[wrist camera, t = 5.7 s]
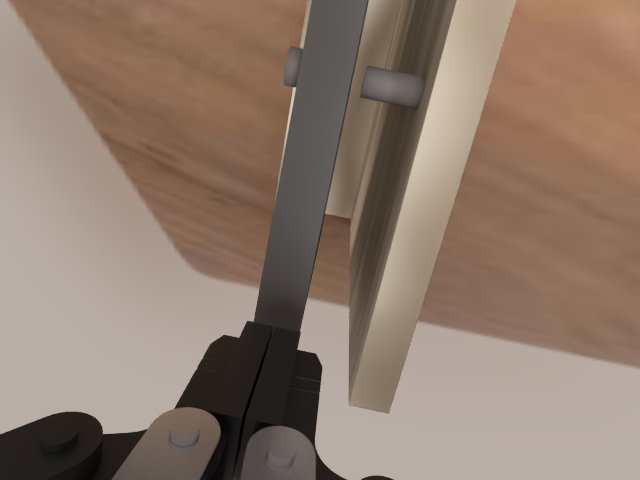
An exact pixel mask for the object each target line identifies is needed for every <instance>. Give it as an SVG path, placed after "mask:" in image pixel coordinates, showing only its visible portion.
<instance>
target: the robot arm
mask: <svg viewBox="0 0 640 480" xmlns="http://www.w3.org/2000/svg"><path fill="white" fill-rule="evenodd" d="M300 333H301V332H300V331H295V330H290V329H286V328H281V327H276V326H275V329H274V332H273V326H271V325H266V324H261V323H256V322H251V321H247V323H246V325H245V327H244V329H243V331H242V333H241V336H240V338H237V337H232V336H227V335H223V336H222V337H220V338H219V339H217V340H216V341H214V342H213V343H211V344H210V346H209V348H208V349H207V351H206V353H205V355H204V357H203V359H202V360H201V362H200V364H199V365H198V368H197V370H196V371H195V373H194V374H193V376H192V378H191V380H190V382H189V383H188V385H187V387H186V389H185V391H184V392H183V394H182V396H181V398H180V399H179V401H178V403H177V405H176V407H175V408H174V409H173V410H170V411H168V412H165V413H163V414H162V415H160V416H159V417H158V418H156V419H155V420H154V421H153V423H152V424H151V425H150V427H149V428H148V429H146V430H143V431H138V432H131V433H117V434H103V430H102V426H101V424H100V422H99V421H98V420H97V419H96V418H94V417H93V416H91V415H89V414H86V413H82V412H62V413H57V414H53V415H50V416H47V417H44V418H42V419H39V420H37V421H34V422H31V423H29V424H26V425H24V426H21V427H18V428H16V429H13V430H11V431H8V432H6V433H3V434H0V480H346V479H344V478H342V477H340V476H339V475H337V474H335V473H334V472H333V471H331V470H330V469H329V468H328V467H327V466H326V465H325V464H324V463H323V462H322V460H321V459H320V457H319V455H318V454H317V451H316V447H315V432H316V422H317V413H318V403H319V392H320V385H321V384H320V383H321V375H322V365H321V363H320V361H319V359H318V357H317V355H316V354H315V353H310V352H305V351H300V350H297V348H298V343H299V338H300ZM272 334H273V335H272ZM361 480H393V479H391V478H388V477H384V476H369V477H365V478H363V479H361Z"/></svg>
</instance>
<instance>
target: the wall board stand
mask: <svg viewBox="0 0 640 480" xmlns="http://www.w3.org/2000/svg"><path fill="white" fill-rule="evenodd" d="M311 3H312V0H307V6H306V12H305V19H304V25H303V31H302V37H301V43H300V48H302V49H303V47H304V41H305V36H306V30H307V25H308V19H309V14H310V8H311ZM515 3H516V0H369V2H368V7H367V12H366V17H365V22H364V27H363V32H362V36H361V41H360V46H359V51H358V56H357V61H356V66H355V70H354V75H353V80H352V85H351V90H350V95H349V100H348V104H347V109H346V114H345V119H344V124H343V129H342V134H341V139H340V143H339V148H338V153H337V158H336V163H335V168H334V173H333V177H332V182H331V187H330V192H329V197H328V202H327V207H326V211H325V214H330V215H335V216H340V217H345V218H350V311H349V314H350V316H349V405H350V406H355V407H360V408H365V409H370V410H375V411H379V412H384V413H389V411H390V408H391V405H392V401H393V398H394V395H395V392H396V388H397V385H398V382H399V379H400V376H401V372H402V369H403V366H404V363H405V359H406V356H407V352H408V349H409V346H410V343H411V340H412V337H413V333H414V330H415V327H416V324H417V320H418V317H419V314H420V311H421V308H422V304H423V301H424V298H425V295H426V291H427V288H428V285H429V282H430V278H431V275H432V272H433V269H434V265H435V262H436V259H437V256H438V252H439V249H440V246H441V243H442V239H443V236H444V233H445V230H446V226H447V223H448V220H449V217H450V214H451V210H452V207H453V204H454V201H455V197H456V194H457V191H458V188H459V184H460V181H461V178H462V175H463V171H464V168H465V165H466V162H467V158H468V155H469V152H470V149H471V145H472V142H473V139H474V136H475V132H476V129H477V126H478V123H479V120H480V116H481V113H482V110H483V107H484V103H485V100H486V97H487V94H488V90H489V87H490V84H491V81H492V77H493V74H494V71H495V68H496V64H497V61H498V58H499V55H500V51H501V48H502V45H503V42H504V38H505V35H506V32H507V29H508V26H509V22H510V19H511V16H512V13H513V9H514V6H515ZM295 91H296V87H293V93H292V99H291V105H290V111H289V117H288V123H287V129H286V136H285V142H284V148H283V154H282V160H281V166H280V173H279V179H278V185H279V180H280V174H281V169H282V163H283V157H284V152H285V146H286V141H287V135H288V130H289V124H290V119H291V113H292V108H293V102H294V97H295ZM278 185H277V191H278ZM277 191H276V196H277ZM275 202H276V197H275Z"/></svg>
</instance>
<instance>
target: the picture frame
mask: <svg viewBox="0 0 640 480" xmlns="http://www.w3.org/2000/svg"><path fill="white" fill-rule="evenodd" d="M368 2H369V0H312V3H311V8H310V14H309V19H308V25H307V30H306V36H305V41H304V47H303V49H302V48H297V47H292V46H291V47H290V48H289V51H288V55H287V60H286V65H285V74H284V84H285V85H286V86H291V87H296V91H295V97H294V102H293V108H292V113H291V119H290V124H289V130H288V135H287V141H286V146H285V152H284V157H283V163H282V169H281V174H280V180H279V185H278V191H277V196H276V202H275V207H274V213H273V218H272V224H271V229H270V235H269V240H268V246H267V251H266V257H265V262H264V268H263V273H262V279H261V285H260V290H259V296H258V301H257V307H256V312H255V318H254V322H256V323H261V324H266V325H271V326H273V332H274V329H275V326H276V327H281V328H286V329H290V330H295V331H300V328H301V324H302V318H303V314H304V310H305V305H306V301H307V296H308V292H309V287H310V282H311V278H312V273H313V269H314V264H315V260H316V255H317V250H318V245H319V241H320V236H321V231H322V226H323V221H324V216H325V211H326V207H327V202H328V197H329V192H330V187H331V182H332V177H333V173H334V168H335V163H336V158H337V153H338V148H339V143H340V139H341V134H342V129H343V124H344V119H345V114H346V109H347V104H348V100H349V95H350V90H351V85H352V80H353V75H354V70H355V66H356V61H357V56H358V51H359V46H360V41H361V36H362V32H363V27H364V22H365V17H366V12H367V7H368ZM272 335H273V334H272Z"/></svg>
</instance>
